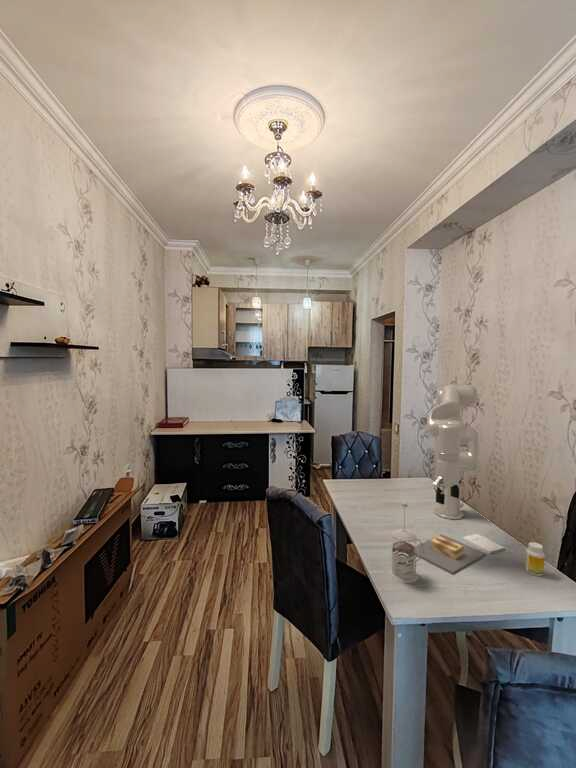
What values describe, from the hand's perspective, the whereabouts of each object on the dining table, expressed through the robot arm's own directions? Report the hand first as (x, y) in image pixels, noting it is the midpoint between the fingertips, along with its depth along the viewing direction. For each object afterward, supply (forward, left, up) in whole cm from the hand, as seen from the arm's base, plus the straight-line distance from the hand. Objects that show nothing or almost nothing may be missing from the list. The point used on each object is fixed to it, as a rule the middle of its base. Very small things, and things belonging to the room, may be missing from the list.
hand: (447, 500), depth 136 cm
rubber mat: (+2, +2, -20) cm, 20 cm away
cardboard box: (+2, +2, -19) cm, 19 cm away
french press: (+26, +2, -20) cm, 33 cm away
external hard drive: (-16, +6, -20) cm, 27 cm away
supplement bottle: (-12, +26, -20) cm, 34 cm away
